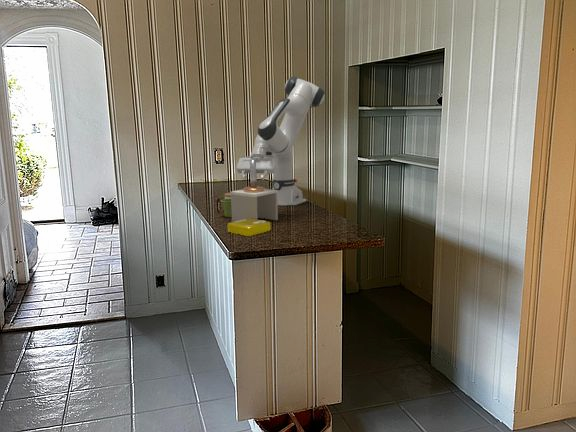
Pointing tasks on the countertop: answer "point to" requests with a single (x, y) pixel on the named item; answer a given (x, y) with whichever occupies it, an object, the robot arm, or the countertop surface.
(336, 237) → the countertop surface
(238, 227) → the element tile
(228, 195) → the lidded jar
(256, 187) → the peg
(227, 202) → the plant pot
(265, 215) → the slotted white pedestal
